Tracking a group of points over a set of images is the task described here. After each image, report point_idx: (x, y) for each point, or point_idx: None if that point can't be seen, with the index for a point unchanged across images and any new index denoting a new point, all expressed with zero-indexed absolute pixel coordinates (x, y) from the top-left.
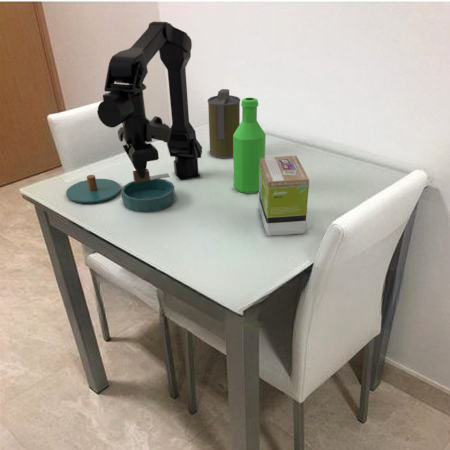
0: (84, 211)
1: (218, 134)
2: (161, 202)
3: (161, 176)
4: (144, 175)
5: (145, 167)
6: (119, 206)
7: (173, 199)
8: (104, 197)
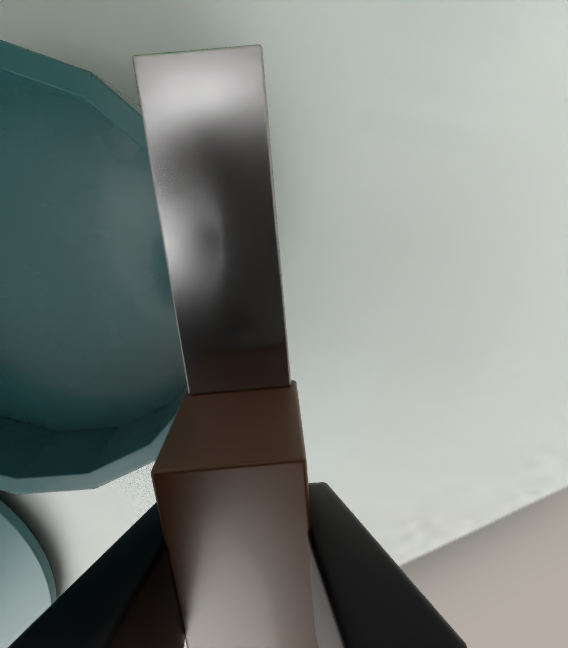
0: None
1: None
2: None
3: (246, 202)
4: (345, 510)
5: (453, 644)
6: None
7: (127, 97)
8: (11, 545)
